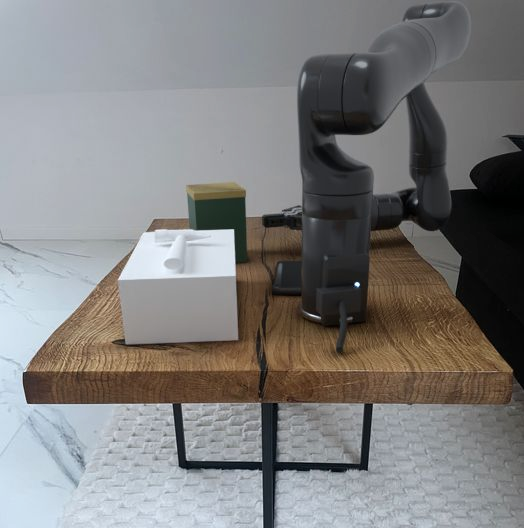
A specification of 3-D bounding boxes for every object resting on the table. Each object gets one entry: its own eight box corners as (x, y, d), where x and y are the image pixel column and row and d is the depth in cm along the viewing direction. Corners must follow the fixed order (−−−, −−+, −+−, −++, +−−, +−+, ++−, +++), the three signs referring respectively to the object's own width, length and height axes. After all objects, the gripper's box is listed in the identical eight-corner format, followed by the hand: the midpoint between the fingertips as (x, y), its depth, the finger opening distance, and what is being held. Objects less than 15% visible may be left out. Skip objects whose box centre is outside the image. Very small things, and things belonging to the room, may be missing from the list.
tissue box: (236, 280, 100) (233, 214, 96) (238, 340, 78) (234, 257, 73) (149, 283, 100) (142, 217, 95) (125, 344, 77) (115, 261, 73)
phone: (272, 287, 93) (277, 260, 106) (272, 294, 93) (277, 266, 107) (323, 288, 92) (322, 260, 106) (323, 295, 93) (322, 266, 106)
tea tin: (248, 262, 110) (245, 189, 105) (198, 266, 108) (193, 193, 103) (237, 249, 119) (234, 182, 113) (190, 253, 117) (185, 185, 111)
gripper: (337, 189, 121) (254, 195, 117) (364, 201, 109) (272, 207, 106) (336, 226, 124) (254, 233, 120) (362, 241, 113) (272, 249, 109)
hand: (263, 221), depth 113 cm, fingers closed
